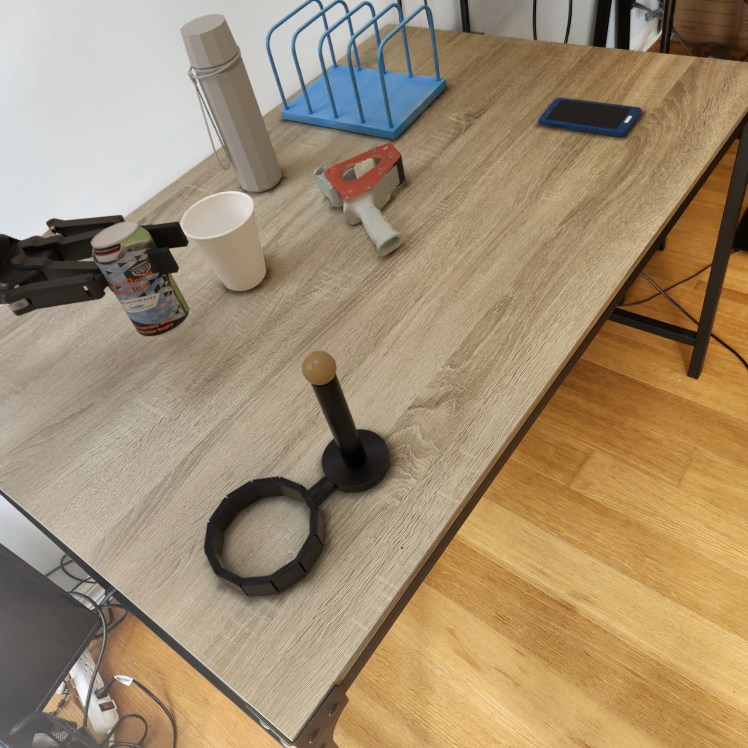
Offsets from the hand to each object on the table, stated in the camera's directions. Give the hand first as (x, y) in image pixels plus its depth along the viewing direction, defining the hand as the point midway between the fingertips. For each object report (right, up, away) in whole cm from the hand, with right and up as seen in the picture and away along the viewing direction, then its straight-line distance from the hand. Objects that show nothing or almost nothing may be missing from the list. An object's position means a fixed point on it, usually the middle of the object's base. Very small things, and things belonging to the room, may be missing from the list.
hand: (177, 246), depth 66 cm
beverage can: (-2, -7, +5) cm, 9 cm away
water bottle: (+1, +18, +40) cm, 44 cm away
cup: (+2, 0, +25) cm, 25 cm away
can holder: (+13, -26, -1) cm, 29 cm away
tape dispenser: (+19, +11, +29) cm, 37 cm away
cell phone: (+53, +26, +33) cm, 68 cm away
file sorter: (+18, +35, +50) cm, 64 cm away
